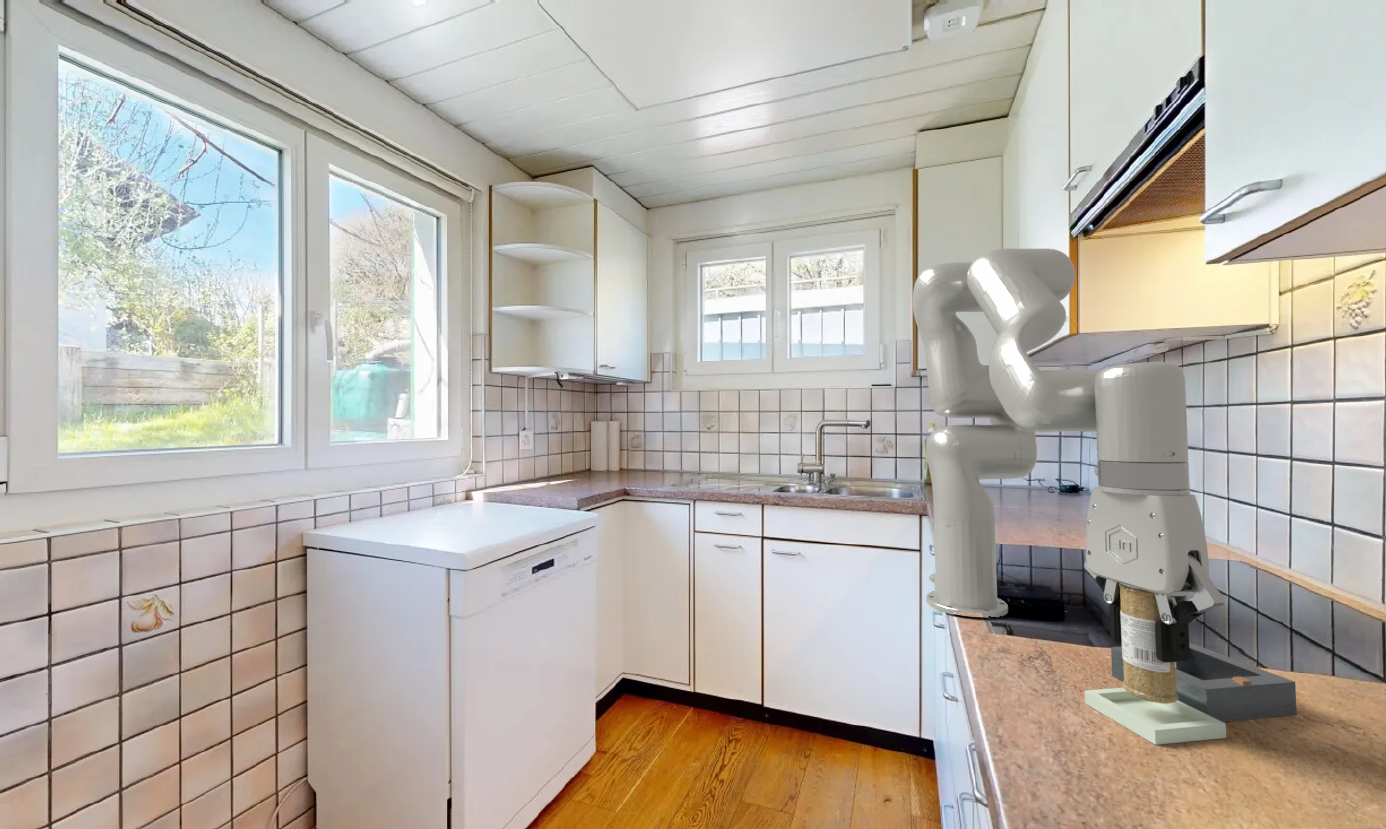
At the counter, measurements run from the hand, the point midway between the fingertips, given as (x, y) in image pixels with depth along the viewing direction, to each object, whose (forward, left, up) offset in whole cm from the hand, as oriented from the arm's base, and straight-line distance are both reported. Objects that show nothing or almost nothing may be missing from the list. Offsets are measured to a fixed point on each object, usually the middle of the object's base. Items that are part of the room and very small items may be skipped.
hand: (1148, 648), depth 57 cm
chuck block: (-4, +11, -7) cm, 13 cm away
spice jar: (0, 0, -5) cm, 5 cm away
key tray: (0, 0, -7) cm, 7 cm away
